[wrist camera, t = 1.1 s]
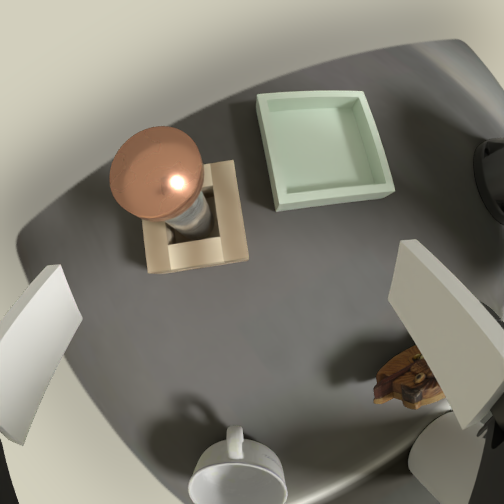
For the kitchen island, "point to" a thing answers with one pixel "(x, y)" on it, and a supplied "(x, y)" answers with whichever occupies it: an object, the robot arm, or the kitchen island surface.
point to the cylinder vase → (448, 459)
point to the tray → (321, 148)
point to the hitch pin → (163, 181)
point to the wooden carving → (407, 381)
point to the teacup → (238, 473)
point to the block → (216, 243)
